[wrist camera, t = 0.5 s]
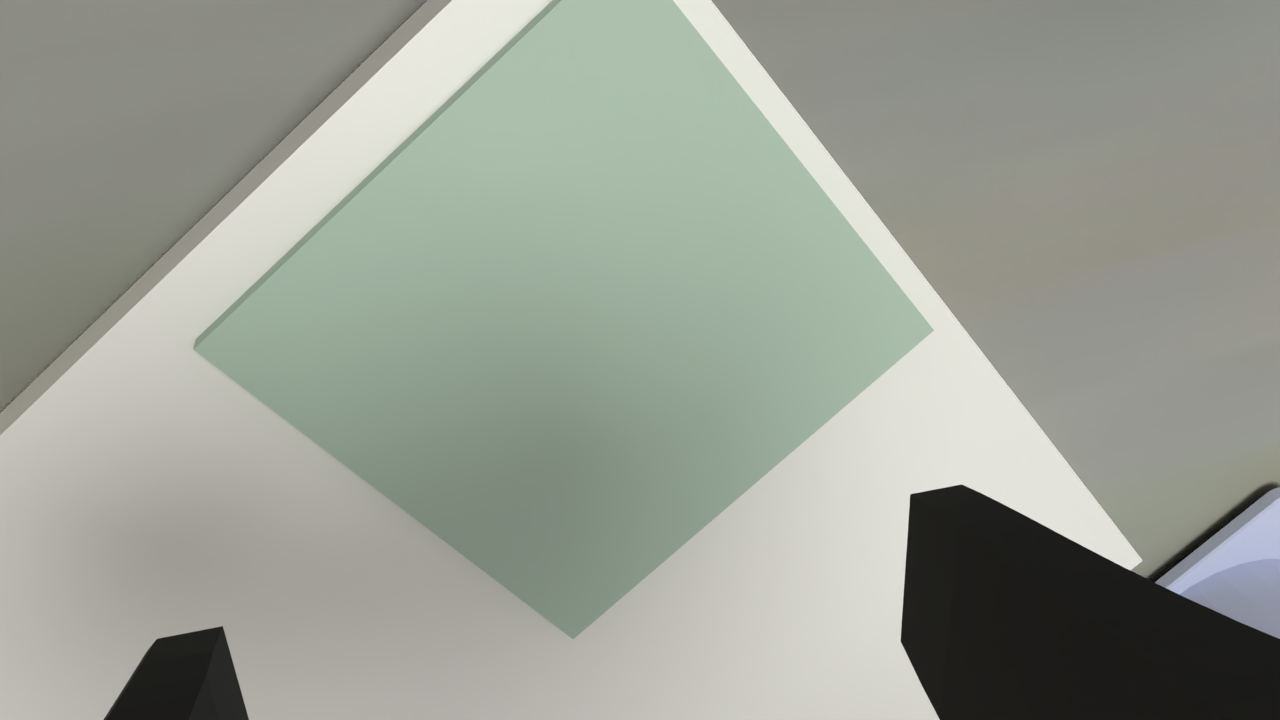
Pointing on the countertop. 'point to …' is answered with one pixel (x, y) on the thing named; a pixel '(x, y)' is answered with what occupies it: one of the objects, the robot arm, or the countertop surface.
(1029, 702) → the robot arm
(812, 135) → the mount board
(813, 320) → the pad
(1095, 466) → the countertop surface
